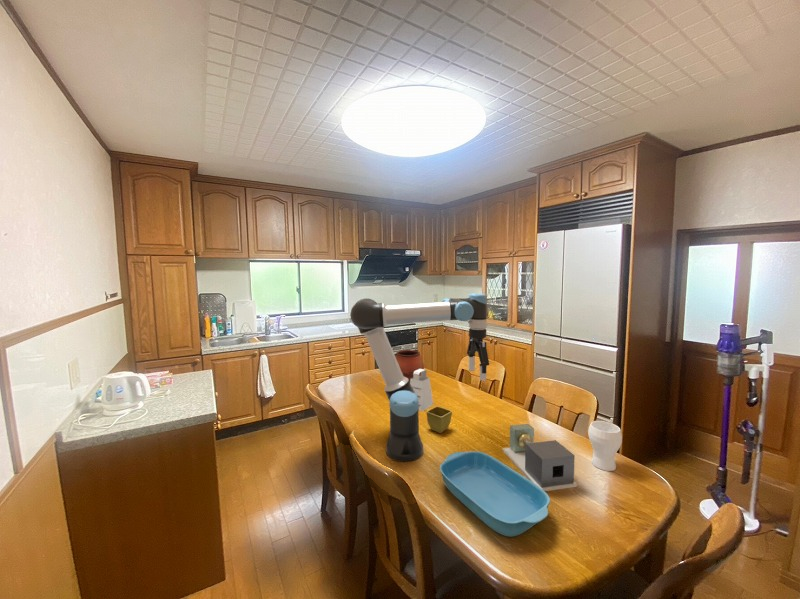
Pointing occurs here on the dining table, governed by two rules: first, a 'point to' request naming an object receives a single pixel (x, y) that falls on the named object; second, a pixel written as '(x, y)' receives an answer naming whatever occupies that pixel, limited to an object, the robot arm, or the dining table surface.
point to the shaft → (521, 436)
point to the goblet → (409, 362)
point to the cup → (604, 444)
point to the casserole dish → (495, 492)
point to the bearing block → (549, 463)
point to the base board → (519, 461)
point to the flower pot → (439, 418)
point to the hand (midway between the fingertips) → (477, 375)
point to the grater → (422, 389)
